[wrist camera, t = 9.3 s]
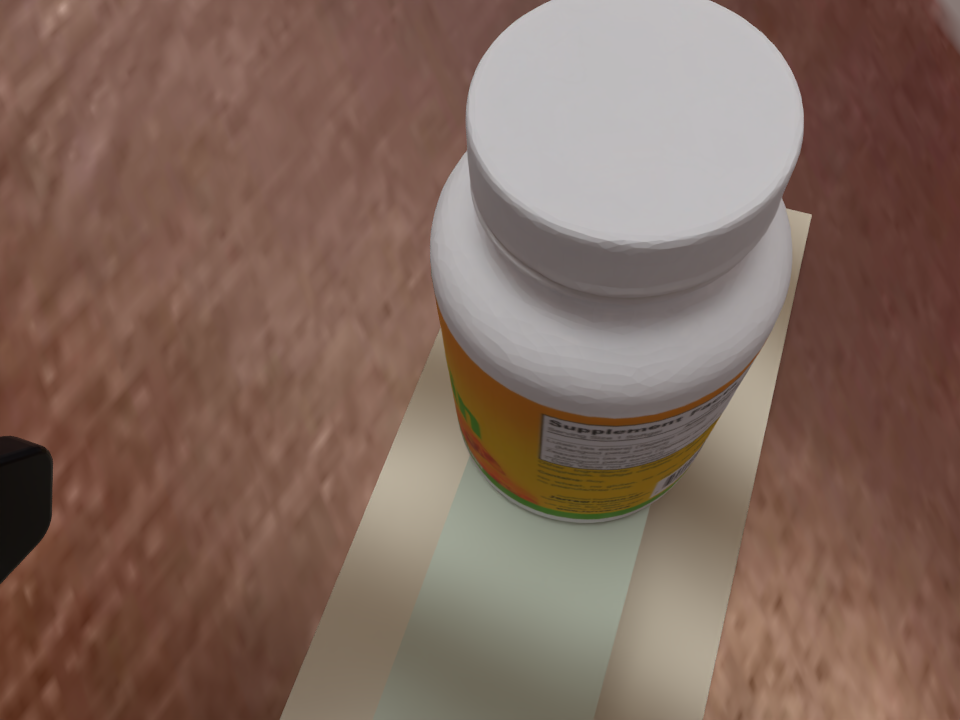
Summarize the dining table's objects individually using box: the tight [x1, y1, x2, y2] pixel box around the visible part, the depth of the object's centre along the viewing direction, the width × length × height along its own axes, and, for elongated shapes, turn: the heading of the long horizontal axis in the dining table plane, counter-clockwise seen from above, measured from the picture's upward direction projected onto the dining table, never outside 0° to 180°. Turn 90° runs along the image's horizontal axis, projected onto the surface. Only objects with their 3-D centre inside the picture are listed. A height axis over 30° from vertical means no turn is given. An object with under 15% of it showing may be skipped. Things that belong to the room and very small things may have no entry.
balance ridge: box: [280, 209, 812, 720], centre depth 20 cm, size 18×9×4 cm, turn 161°
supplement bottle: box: [430, 0, 804, 523], centre depth 14 cm, size 5×5×10 cm
